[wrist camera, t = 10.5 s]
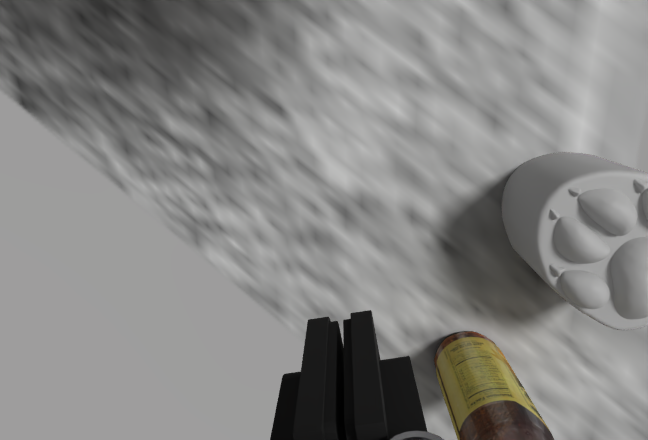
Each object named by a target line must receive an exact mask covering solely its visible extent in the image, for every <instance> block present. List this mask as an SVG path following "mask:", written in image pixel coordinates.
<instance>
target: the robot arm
mask: <svg viewBox="0 0 648 440" xmlns="http://www.w3.org/2000/svg"><path fill="white" fill-rule="evenodd" d="M343 326H344V348H343V343H342V338H341V333H340V329H339V324H338V321H334V322H331V321H330V318H329V317H323V318H317V319H310V320H308V324H307V331H306V339H305V346H304V354H303V361H302V368H301V372H295V373H288V374H284V375H283V378H282V382H281V387H280V392H279V398H278V402H277V407H276V413H275V418H274V423H273V428H272V433H271V438H270V440H444V439H442V438H441V437H439V436H438V435H435V434H432V433H430V432H427V428H426V424H425V420H424V416H423V412H422V407H421V403H420V399H419V395H418V391H417V386H416V382H415V378H414V374H413V370H412V365H411V361H410V357H409V356H408V357H400V358H393V359H386V360H380V356H379V350H378V345H377V339H376V334H375V328H374V323H373V317H372V312H371V310H369V311H363V312H356V313H351V319H347V320H344V321H343Z"/></svg>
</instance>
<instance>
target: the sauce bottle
mask: <svg viewBox="0 0 648 440" xmlns="http://www.w3.org/2000/svg"><path fill="white" fill-rule="evenodd" d="M434 362H435V367H436V374H437V378H438V381H439V384H440V388H441V391H442V394H443V397H444V400H445V403H446V405H447V408H448V411H449V414H450V417H451V420H452V423H453V426H454V429H455V432H456V435H457V438H458V440H554V438H553V436H552V434H551V432H550V431H549V429H548V427H547V426H546V424H545V422H544V421H543V419H542V417H541V416H540V414H539V413H538V411H537V409H536V408H535V406H534V404H533V403H532V401H531V399H530V398H529V396H528V395H527V393H526V391H525V389H524V387H523V386H522V385H521V383H520V381H519V380H518V378H517V377H516V375H515V373H514V372H513V370H512V368H511V366H510V365H509V363H508V362H507V360H506V358H505V357H504V355H503V353H502V352H501V350H500V349H499V348H498V347H497V346H496V345H495V343H494V342H492V341H491V340H490V339H488V338H487V337H486V336H484V335H481V334H479V333H477V332H460V333H457V334H453V335H451V336H449V337H447V338H445V340H444V341H443V342H442V343H441V344H440V346H439V348H438V350H437V353H436V355H435V358H434Z"/></svg>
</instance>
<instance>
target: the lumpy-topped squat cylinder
mask: <svg viewBox="0 0 648 440" xmlns="http://www.w3.org/2000/svg"><path fill="white" fill-rule="evenodd" d="M502 219H503V223H504V227H505V230H506V233H507V236H508V238H509V241H510V243H511V245H512V247H513V249H514V250H515V251H516V252H517V253H518V254H519V255H520V256H521V257H522V258H523V259H524V260H525V261H526V262H527V263H528V264H529V265H530V267H531V268H532V269H533V270H534V271H535V272H536V273H537V274H538V275H539V276H540V277H541V278H542V279H543V280H544V281H545V282H546V283H547V284H548V285H549V286H550V287H551V288H552V289H553V290H554V291H555V292H556V293H558V294H559V295H560V296H561V297H562V298H563V299H565V300H566V301H567V302H568V303H570V304H571V305H572V306H574V307H575V308H576V309H578V310H579V311H581V312H582V313H584V314H586V315H588V316H589V317H591V318H593V319H594V320H596V321H598V322H600V323H601V324H603V325H606V326H608V327H610V328H613V329H617V330H632V329H638V328H642V327H645V326H647V325H648V173H647V172H644V171H641V170H638V169H634V168H631V167H628V166H625V165H622V164H619V163H616V162H613V161H610V160H607V159H604V158H601V157H598V156H594V155H589V154H582V153H570V152H558V153H551V154H546V155H543V156H539V157H536V158H533V159H531V160H529V161H527V162H525V163H523V164H522V165H520V166H519V167H518V168H517V169H516V170H515V171H514V172H513V173H512V175H511V176H510V177H509V179H508V181H507V183H506V185H505V188H504V192H503V197H502Z"/></svg>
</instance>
